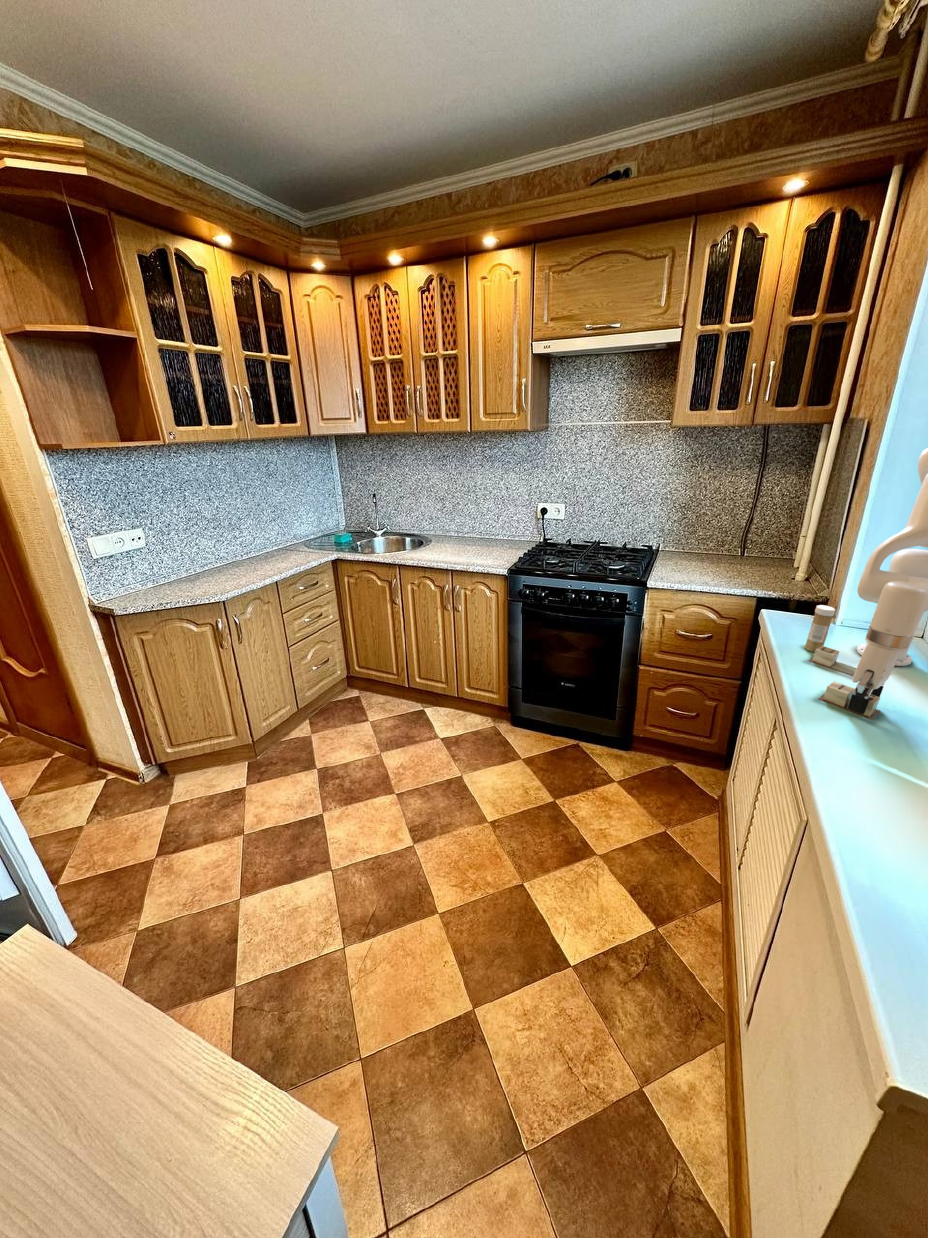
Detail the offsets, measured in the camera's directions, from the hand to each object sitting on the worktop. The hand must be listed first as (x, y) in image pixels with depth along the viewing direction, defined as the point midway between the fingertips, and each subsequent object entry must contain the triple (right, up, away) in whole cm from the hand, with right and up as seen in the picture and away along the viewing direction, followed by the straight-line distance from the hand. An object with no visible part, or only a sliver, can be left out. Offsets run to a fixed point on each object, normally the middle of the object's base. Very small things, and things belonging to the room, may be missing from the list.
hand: (862, 704), depth 118 cm
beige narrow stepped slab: (+9, +7, +22) cm, 25 cm away
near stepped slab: (-2, -1, +3) cm, 3 cm away
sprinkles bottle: (+11, +11, +32) cm, 36 cm away
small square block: (0, -1, +1) cm, 1 cm away
